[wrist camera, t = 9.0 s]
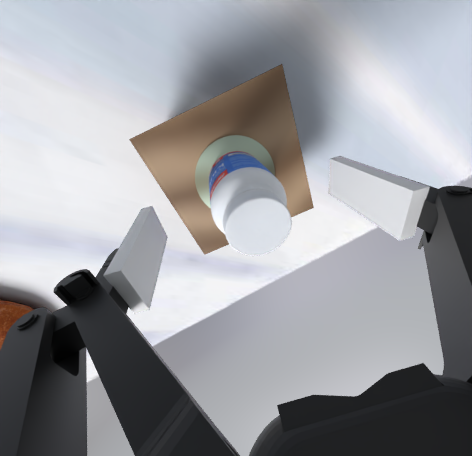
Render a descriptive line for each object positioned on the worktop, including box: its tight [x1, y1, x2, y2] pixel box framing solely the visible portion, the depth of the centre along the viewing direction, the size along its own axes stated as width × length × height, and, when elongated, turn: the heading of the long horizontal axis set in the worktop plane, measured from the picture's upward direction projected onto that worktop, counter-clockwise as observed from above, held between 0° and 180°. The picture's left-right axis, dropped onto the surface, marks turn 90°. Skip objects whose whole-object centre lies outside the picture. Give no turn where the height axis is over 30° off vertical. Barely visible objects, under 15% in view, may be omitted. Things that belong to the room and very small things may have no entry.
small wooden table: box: [129, 64, 314, 254], centre depth 24 cm, size 14×14×9 cm
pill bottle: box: [209, 151, 292, 256], centre depth 16 cm, size 6×5×10 cm
